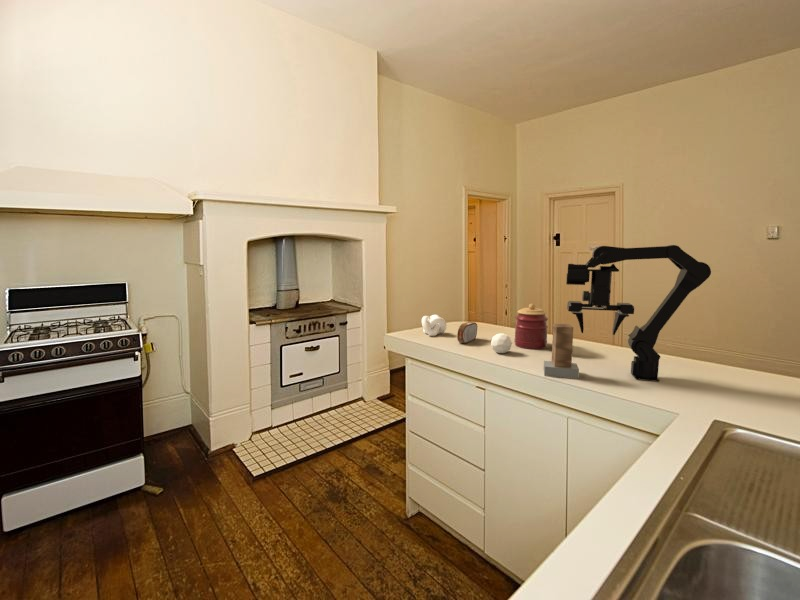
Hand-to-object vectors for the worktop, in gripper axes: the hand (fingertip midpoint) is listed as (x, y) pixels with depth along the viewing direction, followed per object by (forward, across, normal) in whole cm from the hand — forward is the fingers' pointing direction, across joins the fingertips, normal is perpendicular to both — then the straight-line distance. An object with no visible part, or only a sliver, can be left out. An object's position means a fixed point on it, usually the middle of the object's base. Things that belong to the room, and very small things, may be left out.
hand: (597, 333), depth 131 cm
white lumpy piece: (+14, +63, -42) cm, 77 cm away
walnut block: (+10, +11, +5) cm, 15 cm away
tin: (+13, +46, -32) cm, 58 cm away
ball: (+13, +31, -17) cm, 38 cm away
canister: (+13, +20, -32) cm, 40 cm away
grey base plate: (+13, +11, +4) cm, 18 cm away
